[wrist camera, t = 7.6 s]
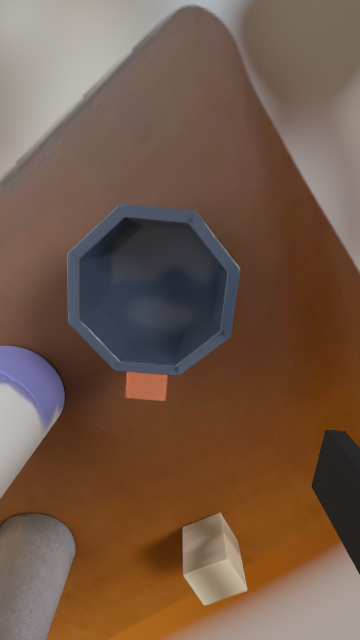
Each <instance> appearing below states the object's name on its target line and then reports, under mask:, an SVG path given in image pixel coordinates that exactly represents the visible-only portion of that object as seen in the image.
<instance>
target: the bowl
mask: <svg viewBox="0 0 360 640" xmlns="http://www.w3.org/2000/svg"><path fill="white" fill-rule="evenodd" d="M239 276H240V268H239V267H238V265H237V264H236V263H235V261H234V260H233V259H232V257H231V256H230V255H229V254H228V252H227V251H226V250H225V248H224V247H223V246H222V244H221V243H220V242H219V241H218V239H217V238H216V237H215V235H214V234H213V233H212V231H211V230H210V229H209V227H208V226H207V225H206V224H205V222H204V221H203V220H202V218H201V217H200V216H199V214H198V213H197V212H196V211H194V210H184V209H174V208H164V207H153V206H143V205H133V204H122V203H121V204H119V205H118V206H117V207H116V208H115V209H114V210H113V211H112V212H110V213H109V214H108V215H107V216H106V217H105V218H104V219H103V220H102V221H101V222H100V223H99V224H98V225H97V226H96V227H95V228H93V229H92V230H91V231H90V232H89V233H88V234H87V235H86V236H85V237H84V238H83V239H82V240H81V241H80V242H79V243H78V244H76V245H75V246H74V247H73V248H72V249H71V250H70V251H69V252H68V254H67V281H68V322H69V324H70V325H71V326H72V327H73V328H74V329H75V330H76V331H77V332H78V333H79V334H80V335H81V337H82V338H83V339H84V340H85V341H86V342H87V343H88V344H89V345H90V346H91V347H92V348H93V349H94V350H95V351H96V352H97V353H98V354H99V355H100V356H101V357H102V358H103V359H104V360H105V361H106V362H107V363H108V364H109V365H110V366H111V367H112V368H113V369H114V370H116V371H126V395H125V397H126V398H131V399H143V400H156V401H166V392H167V380H168V375H175V376H180V375H181V374H182V373H184V372H185V371H186V370H188V369H189V368H190V367H192V366H193V365H194V364H196V363H197V362H198V361H200V360H201V359H202V358H203V357H205V356H206V355H207V354H209V353H210V352H211V351H213V350H214V349H215V348H217V347H218V346H219V345H221V344H222V343H223V342H224V341H226V340H227V339H228V338H230V336H231V331H232V324H233V317H234V310H235V303H236V296H237V290H238V283H239Z"/></svg>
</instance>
